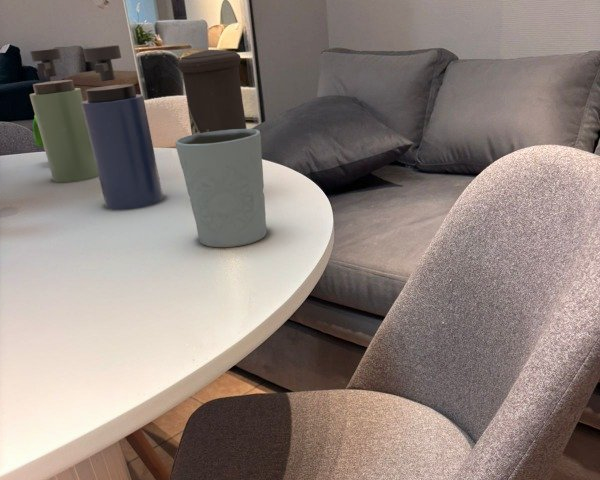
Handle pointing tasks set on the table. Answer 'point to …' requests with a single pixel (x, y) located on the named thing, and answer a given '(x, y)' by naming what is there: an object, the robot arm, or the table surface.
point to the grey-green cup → (225, 185)
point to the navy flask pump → (103, 60)
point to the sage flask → (64, 130)
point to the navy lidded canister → (122, 146)
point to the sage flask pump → (46, 60)
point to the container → (213, 91)
